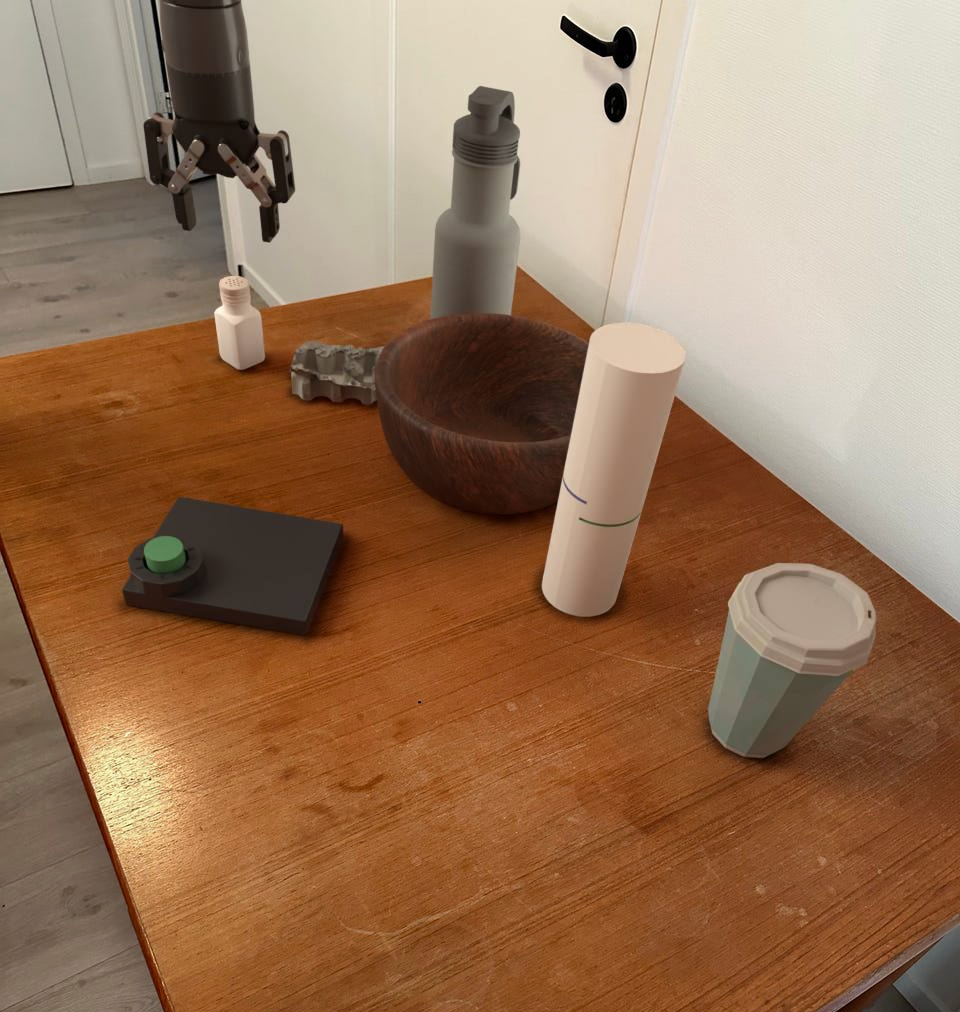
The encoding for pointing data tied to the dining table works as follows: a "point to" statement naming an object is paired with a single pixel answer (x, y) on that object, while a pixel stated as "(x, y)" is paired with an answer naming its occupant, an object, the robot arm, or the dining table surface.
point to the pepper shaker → (238, 325)
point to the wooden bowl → (481, 408)
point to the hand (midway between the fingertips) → (229, 233)
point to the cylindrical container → (610, 463)
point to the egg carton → (334, 372)
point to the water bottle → (479, 212)
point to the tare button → (164, 555)
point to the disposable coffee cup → (786, 653)
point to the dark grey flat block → (239, 566)
